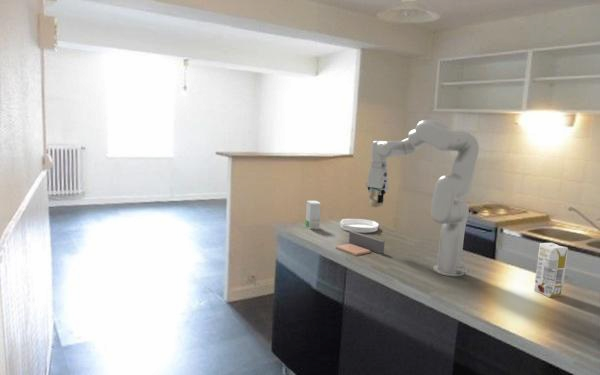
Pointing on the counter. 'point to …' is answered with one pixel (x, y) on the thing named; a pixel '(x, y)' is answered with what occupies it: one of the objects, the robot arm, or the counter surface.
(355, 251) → the terracotta tile
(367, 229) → the pan
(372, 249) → the board
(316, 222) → the skincare box
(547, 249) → the juice carton
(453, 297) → the counter surface
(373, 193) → the block
